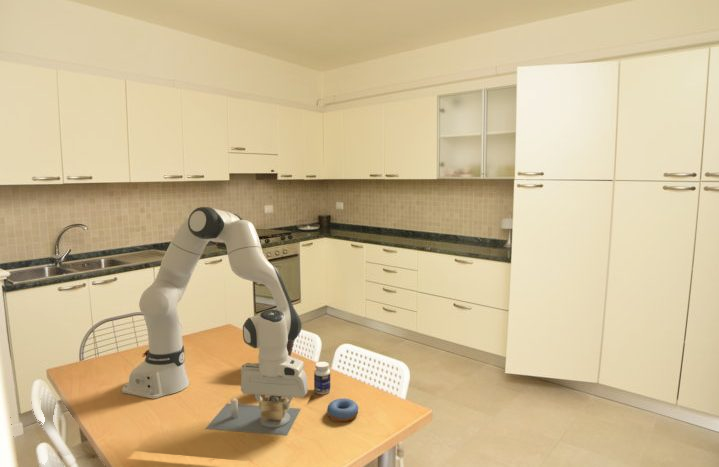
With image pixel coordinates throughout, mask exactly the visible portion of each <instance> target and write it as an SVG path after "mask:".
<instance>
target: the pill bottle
mask: <svg viewBox="0 0 719 467" xmlns="http://www.w3.org/2000/svg"><path fill="white" fill-rule="evenodd" d="M314 368H315V370H314V371H313V372H314V373H313V376H314V377H313V383H314V384H313V390H314V392H315V394H318V395H326V394H328V393H330V391H331V370H330V364H329V363H328V362H326V361H318V362H316V363H315V367H314Z"/></svg>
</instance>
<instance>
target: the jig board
mask: <svg viewBox="0 0 719 467" xmlns="http://www.w3.org/2000/svg"><path fill="white" fill-rule="evenodd" d="M238 401H239V400H238V398H232V399H230V403H226V404H225V405H224V406H223V407H222V408H221V410H220V411H219V412H218V413H217V414H216V415H215V417H214V418H213V419H212V420H211V421H210V422H209V423H208V425H207V426H206V427H205V428H204V430H210V431H211V430H214V431H225V432H226V431H227V432H239V433H240V432H241V433H250V434H251V433H252V434H263V435H264V434H265V435H276V436H288V435H289V432H290V430H291V428H293V425H294V423H295V422H296V420H297V417H298V416H299V414H300V411H301V409H302V408H298V407H297V408H295V407H290V408H289V410H287V412H286V414H285V415H284V417H283V419H282V420H275V419H262V418H261V408H259V405H253V404H243V403H242V404H239V402H238ZM271 401H273V402H279V399H278V398H277V397H273V398H272V399H271Z"/></svg>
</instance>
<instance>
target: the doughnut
mask: <svg viewBox="0 0 719 467" xmlns="http://www.w3.org/2000/svg"><path fill="white" fill-rule="evenodd" d="M326 413H327V416H328V417H329V418H330V419H331V420H333V421H335V422H338V423H339V422H340V423H345V422H350V421H352V420H354V419H355V418H356V417H357V416H358V414H359V406H358V404H357V402H355V401H354V400H353V399H350V398H346V397H345V398H337V399H334V400H332V401H331V402H330V403H329V404H327V408H326Z"/></svg>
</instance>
